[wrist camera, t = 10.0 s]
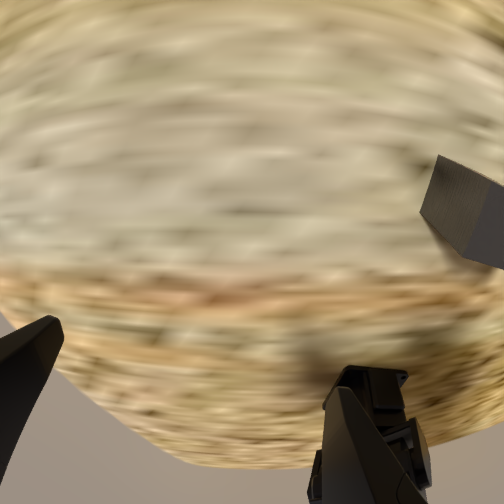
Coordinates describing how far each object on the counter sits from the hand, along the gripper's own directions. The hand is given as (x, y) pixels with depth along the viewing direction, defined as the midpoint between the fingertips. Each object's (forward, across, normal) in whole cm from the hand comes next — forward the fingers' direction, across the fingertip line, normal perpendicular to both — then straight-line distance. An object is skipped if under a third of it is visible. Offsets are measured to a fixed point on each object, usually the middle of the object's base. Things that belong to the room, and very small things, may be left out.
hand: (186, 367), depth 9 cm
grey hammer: (+12, -22, -5) cm, 25 cm away
